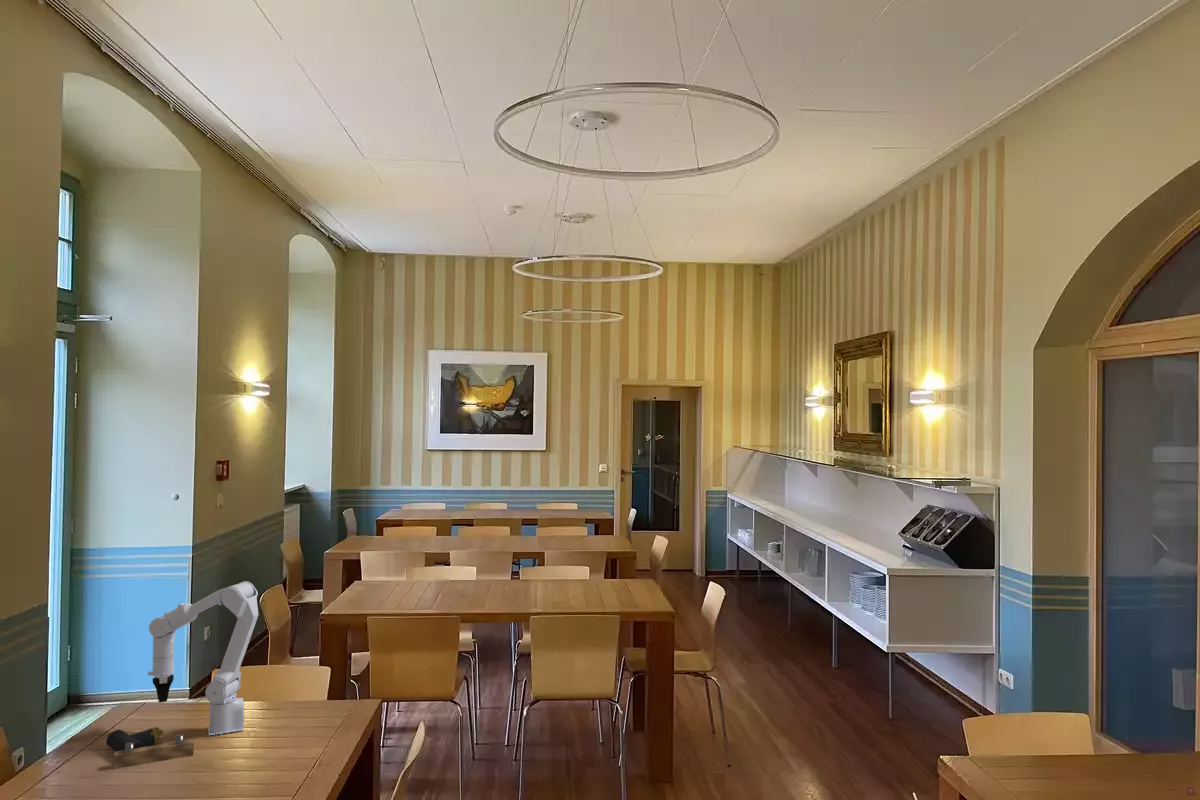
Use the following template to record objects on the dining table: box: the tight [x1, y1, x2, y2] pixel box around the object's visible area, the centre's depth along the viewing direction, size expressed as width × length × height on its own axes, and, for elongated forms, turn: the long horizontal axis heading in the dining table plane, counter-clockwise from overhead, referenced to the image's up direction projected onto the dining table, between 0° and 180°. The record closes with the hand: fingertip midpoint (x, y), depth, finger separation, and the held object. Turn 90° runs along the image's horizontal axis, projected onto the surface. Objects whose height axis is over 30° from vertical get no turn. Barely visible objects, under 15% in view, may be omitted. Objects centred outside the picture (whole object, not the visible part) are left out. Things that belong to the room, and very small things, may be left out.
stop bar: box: [113, 733, 195, 769], centre depth 224 cm, size 19×3×6 cm, turn 119°
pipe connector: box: [106, 726, 164, 753], centre depth 231 cm, size 12×5×15 cm
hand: (162, 701), depth 247 cm, fingers closed
